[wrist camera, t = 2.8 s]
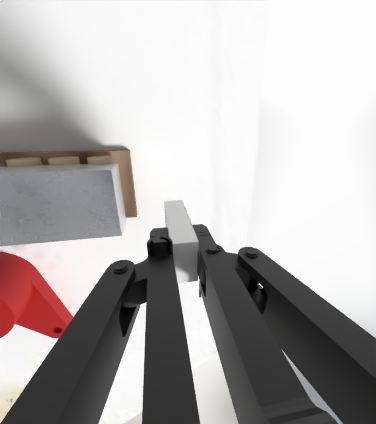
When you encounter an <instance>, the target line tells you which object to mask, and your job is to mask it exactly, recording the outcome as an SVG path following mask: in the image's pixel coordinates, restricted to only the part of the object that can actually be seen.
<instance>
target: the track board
mask: <svg viewBox="0 0 376 424" xmlns="http://www.w3.org/2000/svg"><path fill="white" fill-rule="evenodd" d="M69 156H75V157H79V161H80V164H88V161H87V157H92V156H115V160H116V163H118V167H119V174H120V180H121V187H122V194H123V201H124V208H125V215H126V218H127V217H137V208H136V199H135V191H134V183H133V174H132V166H131V157H130V150H109V151H57V152H6V153H0V167H1V166H7V163H6V160H8V159H15V158H27V157H39V158H41V161H42V164H43V165H49V162H48V159H49V158H54V157H69Z"/></svg>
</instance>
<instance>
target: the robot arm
mask: <svg viewBox="0 0 376 424" xmlns="http://www.w3.org/2000/svg"><path fill="white" fill-rule="evenodd" d="M164 202H165V221H166V228H155V229H153V230H152V231H151V232H150V240H148V242H147V249H148V258H147V259H146V260H145V261H143V262H141V263H138V264H135V265H134V263H133V262H131V261H128V260H120V261H117V262H114V263H113V264H111V265H110V266H109V267H108V268H107V269H106V271H105V272H104V274H103V275H102V277H101V278H100V280H99V281H98V283H97V284H96V285H95V287H94V288H93V290H92V291H91V293H90V294H89V296H88V297H87V299H86V300H85V301H84V303H83V304H82V306H81V307H80V309H79V310H78V312H77V313H76V315H75V316H74V317H73V319H72V320H71V322H70V323H69V325H68V326H67V328H66V329H65V331H64V332H63V333H62V335H61V336H60V338H59V339H58V341H57V342H56V344H55V345H54V346H53V348H52V349H51V351H50V352H49V354H48V355H47V357H46V358H45V360H44V361H43V362H42V364H41V365H40V367H39V368H38V370H37V371H36V373H35V374H34V376H33V377H32V378H31V380H30V381H29V383H28V384H27V386H26V387H25V389H24V390H23V392H22V393H21V394H20V396H19V397H18V399H17V400H16V402H15V403H14V405H13V406H12V407H11V409H10V410H9V412H8V413H7V415H6V416H5V418H4V419H3V421H2V422H1V423H0V424H98V423H99V420H100V417H101V415H102V412H103V409H104V406H105V403H106V401H107V398H108V395H109V392H110V389H111V387H112V384H113V381H114V378H115V375H116V372H117V370H118V367H119V364H120V361H121V358H122V356H123V353H124V350H125V347H126V344H127V342H128V339H129V336H130V333H131V330H132V328H133V325H134V322H135V319H136V316H137V314H138V311H139V308H140V304H143V303H145V302H147V305H146V332H145V359H144V386H143V413H142V424H200V420H199V415H198V408H197V401H196V395H195V390H194V383H193V376H192V370H191V364H190V357H189V351H188V345H187V339H186V332H185V326H184V320H183V314H182V307H181V301H180V295H179V289H178V283H183V282H191V281H198V276H199V279H200V283H199V297H201V294H202V298H203V301H204V305H205V308H206V312H207V315H208V319H209V322H210V326H211V329H212V333H213V336H214V340H215V343H216V347H217V350H218V354H219V357H220V360H221V364H222V367H223V371H224V374H225V378H226V381H227V385H228V388H229V392H230V395H231V399H232V402H233V406H234V409H235V412H236V416H237V420H238V423H239V424H338V423H337V422H336V420H335V419H334V418H332V416H331V415H330V414H329V413H328V412H326V411H324V410H322V409H320V408H318V407H316V406H315V405H314V403H313V402H312V401H311V400H310V398H309V397H308V395H307V393H306V392H305V390H304V388H303V386H302V384H301V383H300V381H299V379H298V377H297V376H296V374H295V372H294V370H293V369H292V367H291V366H290V364H289V362H288V360H287V358H286V357H285V355H284V353H283V352H282V350H283V351H284V352H285V354H286V355H287V356H288V357H289V359H290V360H291V361H292V362H293V363H294V365H295V366H296V367H297V368H298V370H299V371H300V372H301V373H302V374H303V376H304V377H305V378H306V379H307V380H308V382H309V383H310V384H311V385H312V386H313V388H314V389H315V390H316V391H317V393H318V394H319V395H320V396H321V397H322V399H323V400H324V401H325V402H326V403H327V405H328V406H329V407H330V408H331V409H332V411H333V412H334V413H335V414H336V415H337V417H338V418H339V419H340V420H341V422H343V424H376V338H374V337H373V336H372V335H371V334H369V333H368V332H366V331H365V330H364V329H363V328H361V327H360V326H359V325H357V324H356V323H355V322H353V321H352V320H351V319H349V318H348V317H347V316H345V315H344V314H343V313H342V312H340V311H339V310H338V309H336V308H335V307H334V306H332V305H331V304H330V303H328V302H327V301H326V300H324V299H323V298H322V297H320V296H319V295H317V294H316V293H315V292H314V291H312V290H311V289H310V288H309V287H307V286H306V285H304V284H303V283H302V282H301V281H299V280H298V279H297V278H295V277H294V276H293V275H291V274H290V273H289V272H287V271H286V270H285V269H284V268H282V267H281V266H279V265H278V264H277V263H276V262H274V261H273V260H271V259H270V258H269V257H268V256H266V255H265V254H264V253H262V252H261V251H259V250H258V249H255V248H252V247H243V248H241V249H240V250H239V252H238V254H234V253H227V252H225V251H224V249H223V248H222V247H221V246H219V245H217V244H216V243H215V242H214V240H213V238H212V236H211V234H210V232H209V230H208V229H207V227H206V226H204V225H203V224H200V225H192V224H191V221H190V219H189V216H188V214H187V211H186V209H185V206H184V204H183V201H182V200H180V201H164ZM259 283H260V284H261V285H262V286H263V288H262V287H261V286H260V285H259ZM281 349H282V350H281Z"/></svg>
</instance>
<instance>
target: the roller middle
mask: <svg viewBox="0 0 376 424" xmlns="http://www.w3.org/2000/svg"><path fill="white" fill-rule="evenodd" d="M48 162H49V165H68V164H80V161H79V157H75V156H69V157H54V158H49V159H48Z"/></svg>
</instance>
